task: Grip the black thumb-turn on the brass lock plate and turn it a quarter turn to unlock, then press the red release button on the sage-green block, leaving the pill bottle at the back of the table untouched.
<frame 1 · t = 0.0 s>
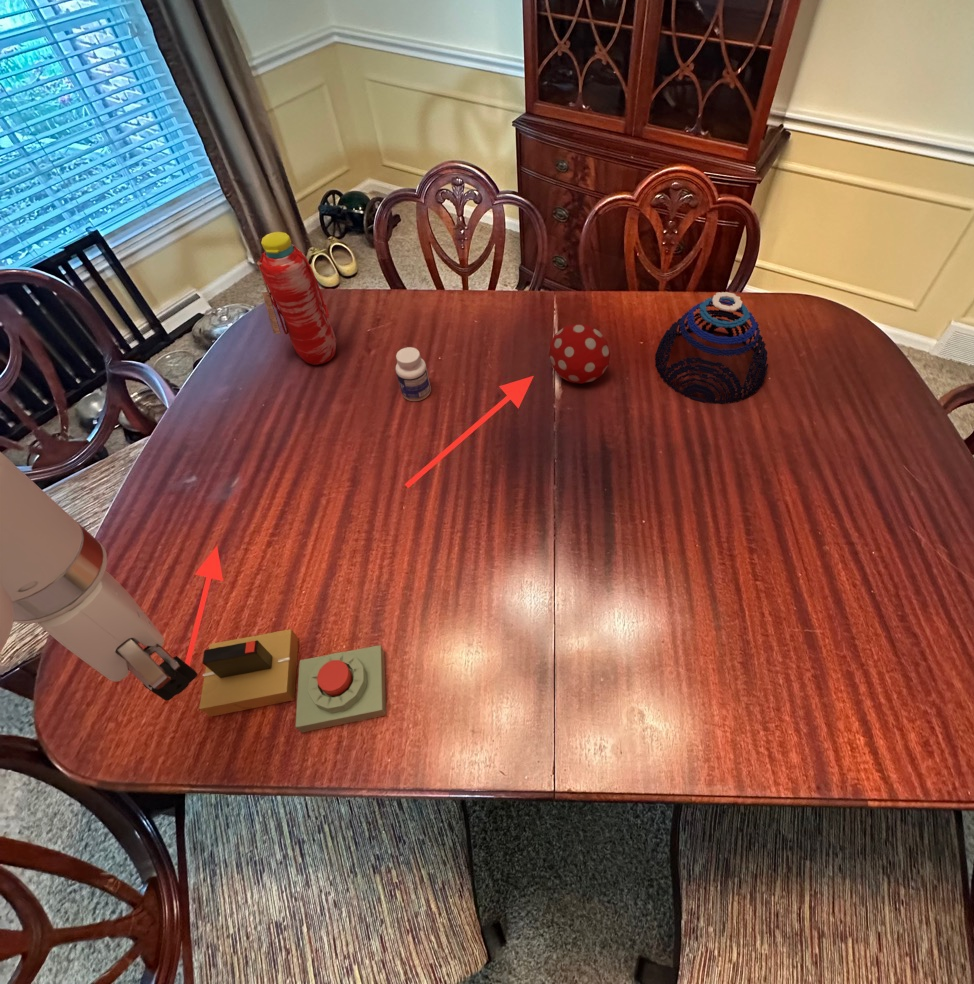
hand: (155, 654, 59), 19 cm above the table, tool pointing down, fingers open, 9 cm apart
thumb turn: (238, 659, 71), point 6 cm above the table, hinge at 0.0°
release button: (334, 677, 71), point 4 cm above the table, slide at 0.1 cm
water bottle: (312, 356, 115), on the table
button block: (344, 690, 74), on the table
lock plate: (256, 675, 76), on the table
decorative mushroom: (577, 365, 113), on the table
pill bottle: (416, 392, 108), on the table
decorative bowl: (708, 365, 112), on the table
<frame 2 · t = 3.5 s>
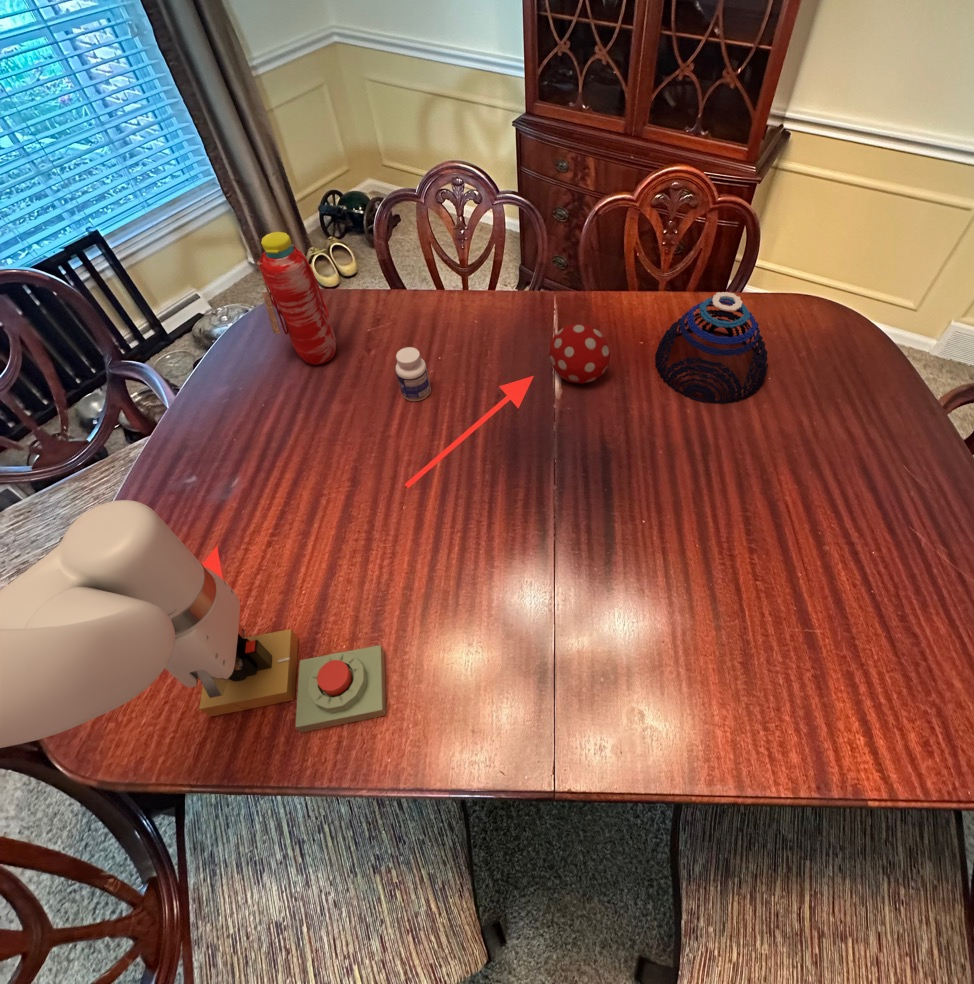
hand: (244, 665, 73), 4 cm above the table, tool pointing down, fingers closed on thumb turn
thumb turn: (238, 659, 71), point 6 cm above the table, hinge at 1.7°, touching gripper
everything else where it was.
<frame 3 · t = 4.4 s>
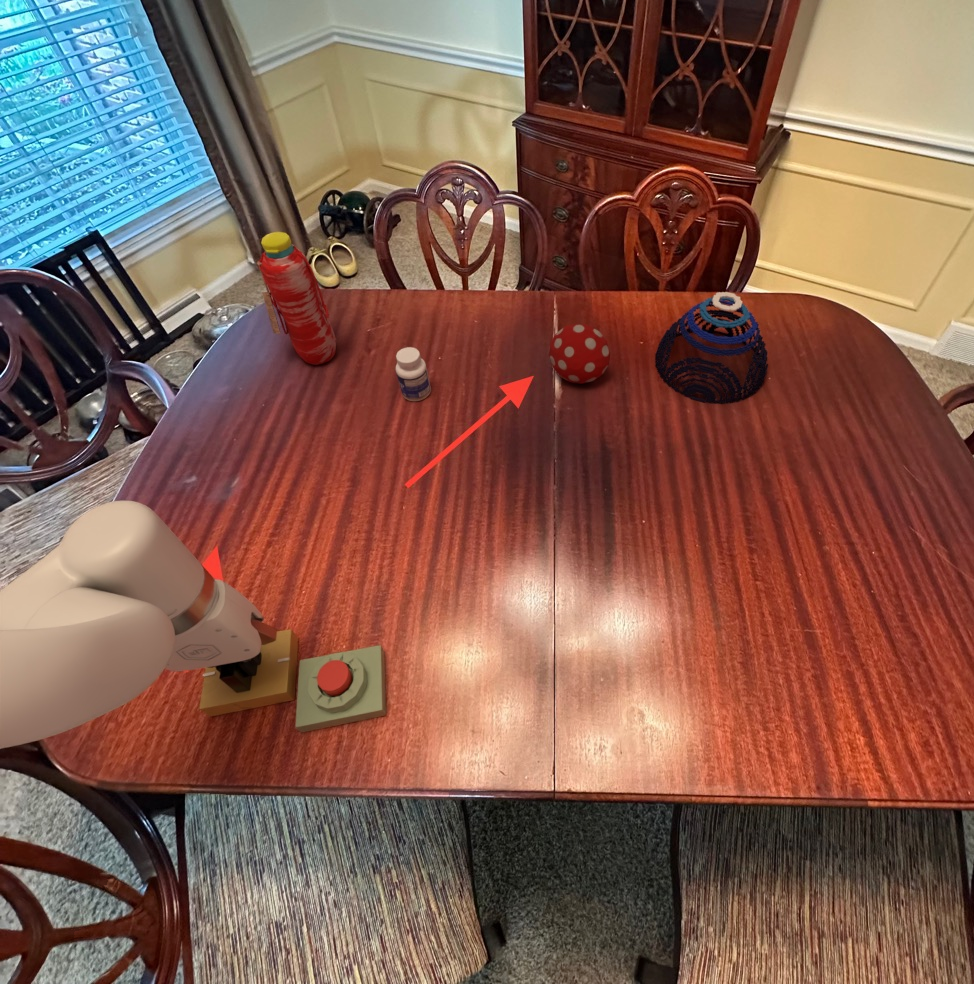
hand: (244, 665, 73), 4 cm above the table, tool pointing down, fingers closed on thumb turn
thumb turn: (238, 659, 71), point 6 cm above the table, hinge at 89.4°, touching gripper
everything else where it was.
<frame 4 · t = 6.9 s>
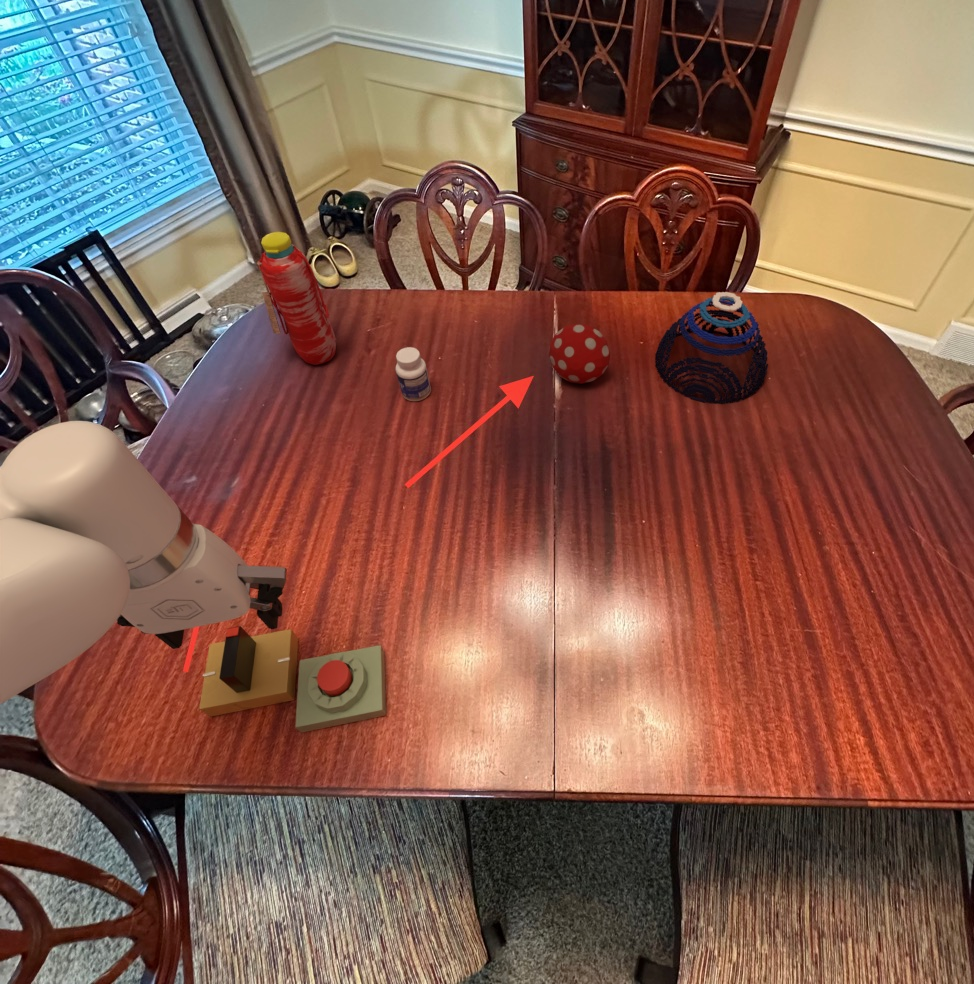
hand: (228, 625, 64), 16 cm above the table, tool pointing down, fingers open, 9 cm apart
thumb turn: (238, 659, 71), point 6 cm above the table, hinge at 89.4°
everything else where it was.
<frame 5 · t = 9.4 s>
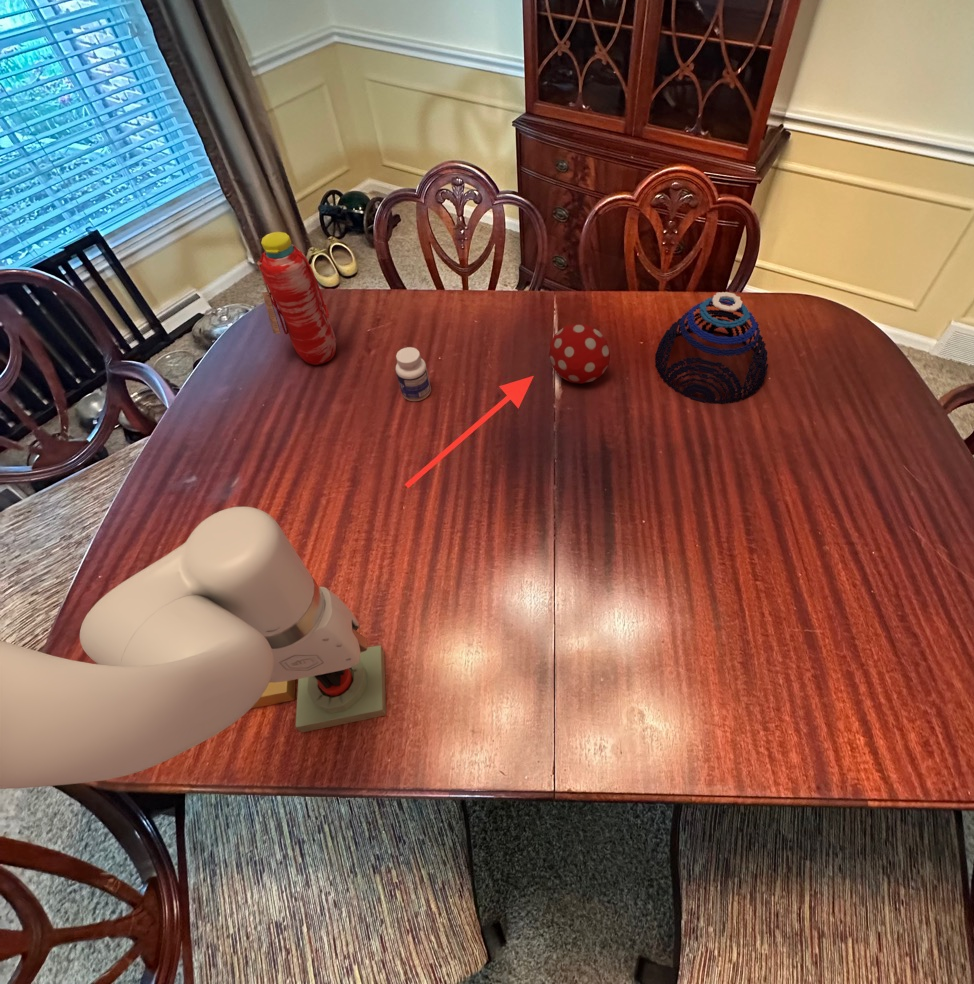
hand: (333, 674, 71), 5 cm above the table, tool pointing down, fingers closed
release button: (334, 678, 71), point 4 cm above the table, slide at 0.0 cm, touching gripper
everything else where it was.
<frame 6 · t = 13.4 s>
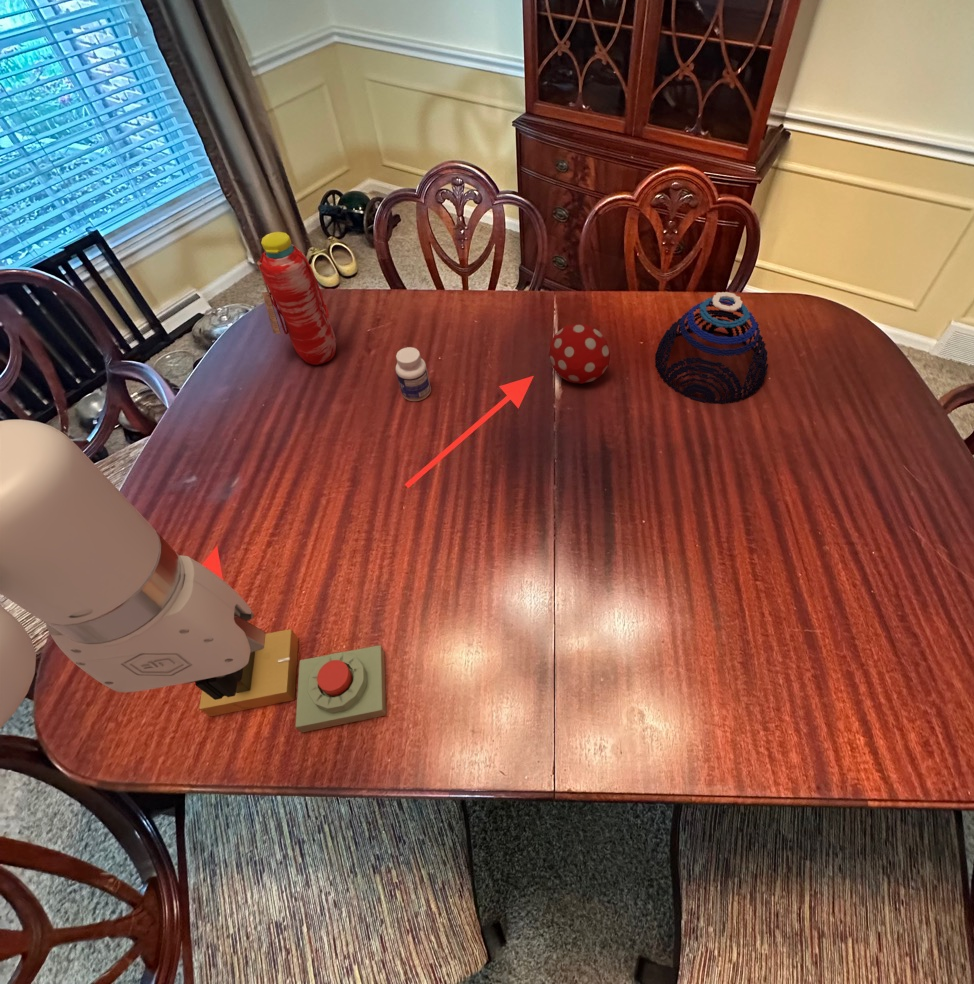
hand: (228, 680, 53), 23 cm above the table, tool pointing down, fingers closed
release button: (334, 677, 71), point 4 cm above the table, slide at 0.1 cm
everything else where it was.
at the end: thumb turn at +89° (first picture: +0°); release button pushed in 1.1 cm at the most during the clip, back to where it started at the end; pill bottle moved 0.2 cm from its start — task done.
